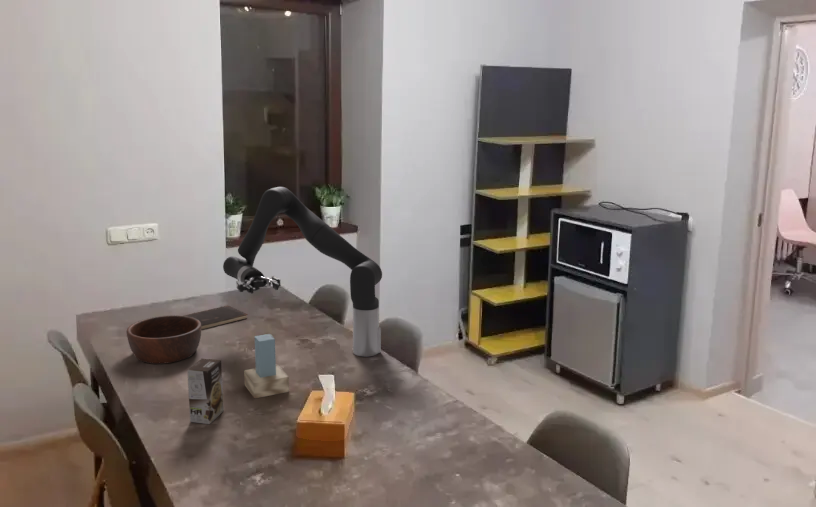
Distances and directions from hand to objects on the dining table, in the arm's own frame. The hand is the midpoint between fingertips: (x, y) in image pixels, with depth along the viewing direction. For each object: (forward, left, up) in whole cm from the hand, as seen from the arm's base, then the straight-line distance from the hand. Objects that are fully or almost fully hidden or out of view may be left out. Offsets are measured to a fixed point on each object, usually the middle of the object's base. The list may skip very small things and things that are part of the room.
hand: (264, 288), depth 236 cm
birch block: (+6, +19, -27) cm, 33 cm away
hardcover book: (+6, -55, -28) cm, 62 cm away
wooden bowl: (+29, -25, -27) cm, 47 cm away
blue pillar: (+6, +18, -22) cm, 29 cm away
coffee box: (+27, +30, -27) cm, 48 cm away
